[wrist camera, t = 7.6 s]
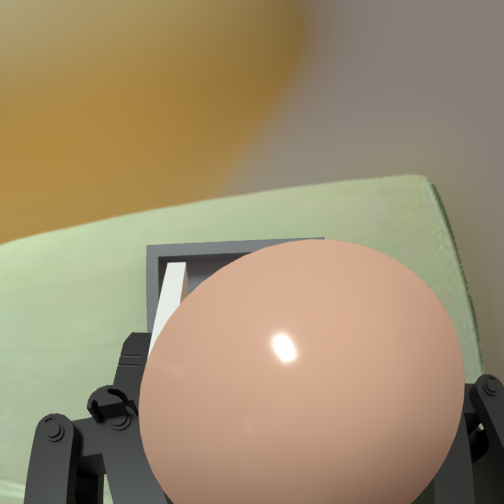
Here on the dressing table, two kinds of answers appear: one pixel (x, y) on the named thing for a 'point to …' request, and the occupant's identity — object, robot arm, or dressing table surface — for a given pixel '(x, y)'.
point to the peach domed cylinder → (303, 382)
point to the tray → (195, 263)
